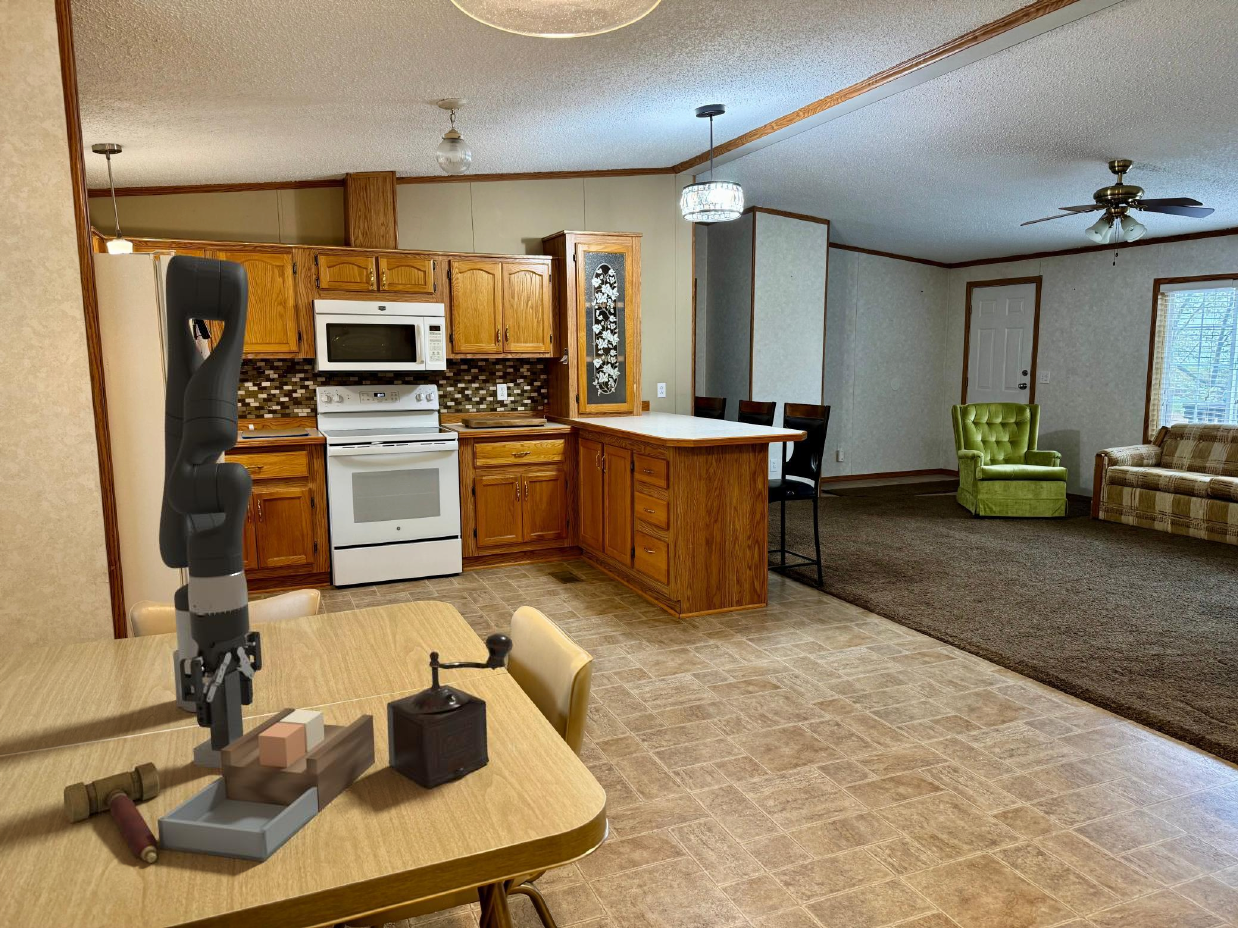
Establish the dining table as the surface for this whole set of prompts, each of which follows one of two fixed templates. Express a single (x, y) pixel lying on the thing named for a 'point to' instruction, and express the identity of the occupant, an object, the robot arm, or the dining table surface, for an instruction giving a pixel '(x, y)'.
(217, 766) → the grey upright post
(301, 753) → the terracotta cube
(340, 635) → the dining table surface
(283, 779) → the slot block
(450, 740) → the antique coffee grinder
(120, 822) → the gavel
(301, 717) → the off-white cube
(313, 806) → the tray
